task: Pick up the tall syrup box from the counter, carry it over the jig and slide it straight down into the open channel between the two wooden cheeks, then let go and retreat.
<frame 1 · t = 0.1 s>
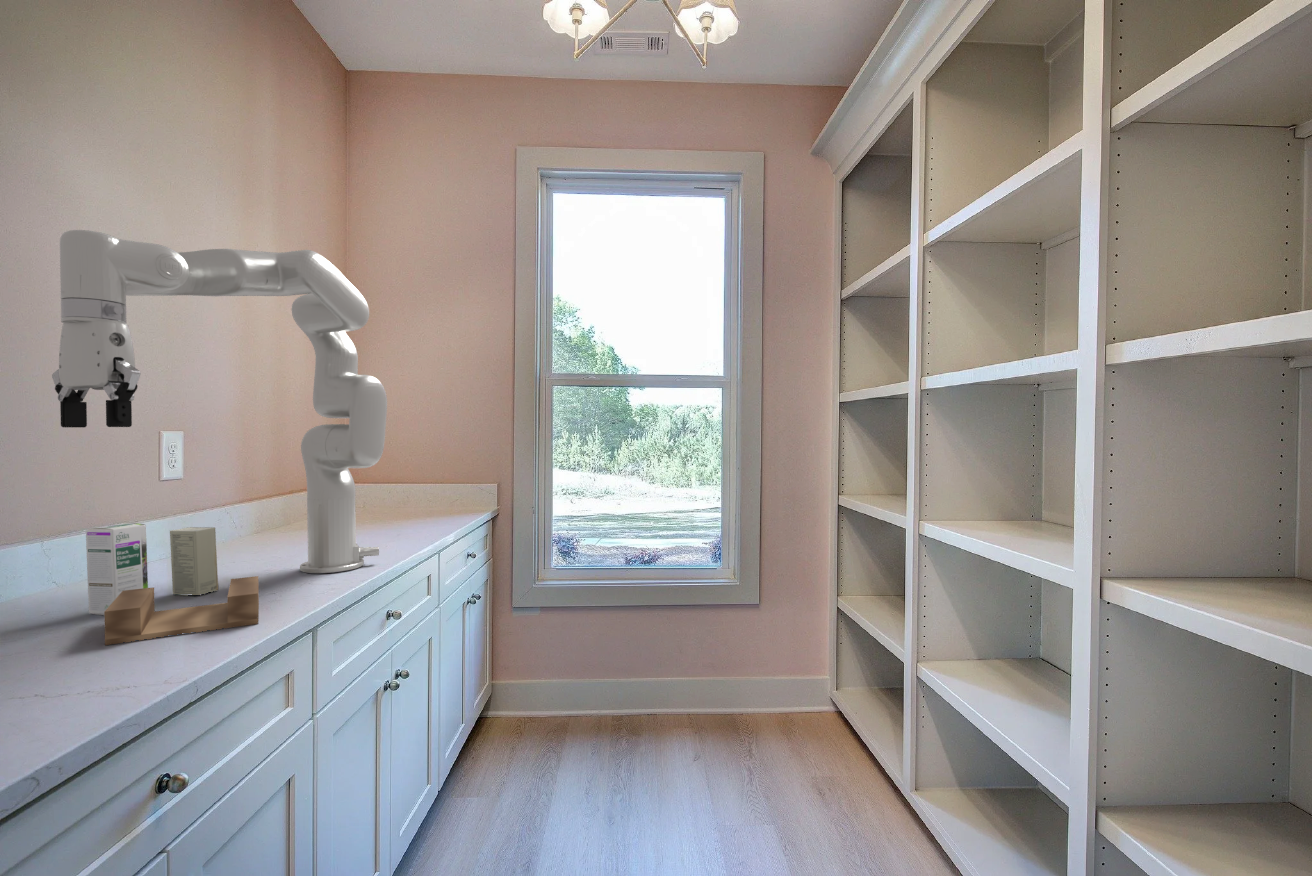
hand: (96, 427, 97), 31 cm above the countertop, tool pointing down, fingers open, 9 cm apart
jig: (190, 622, 101), on the countertop
syrup box: (118, 611, 108), on the countertop
skincare box: (194, 594, 119), on the countertop
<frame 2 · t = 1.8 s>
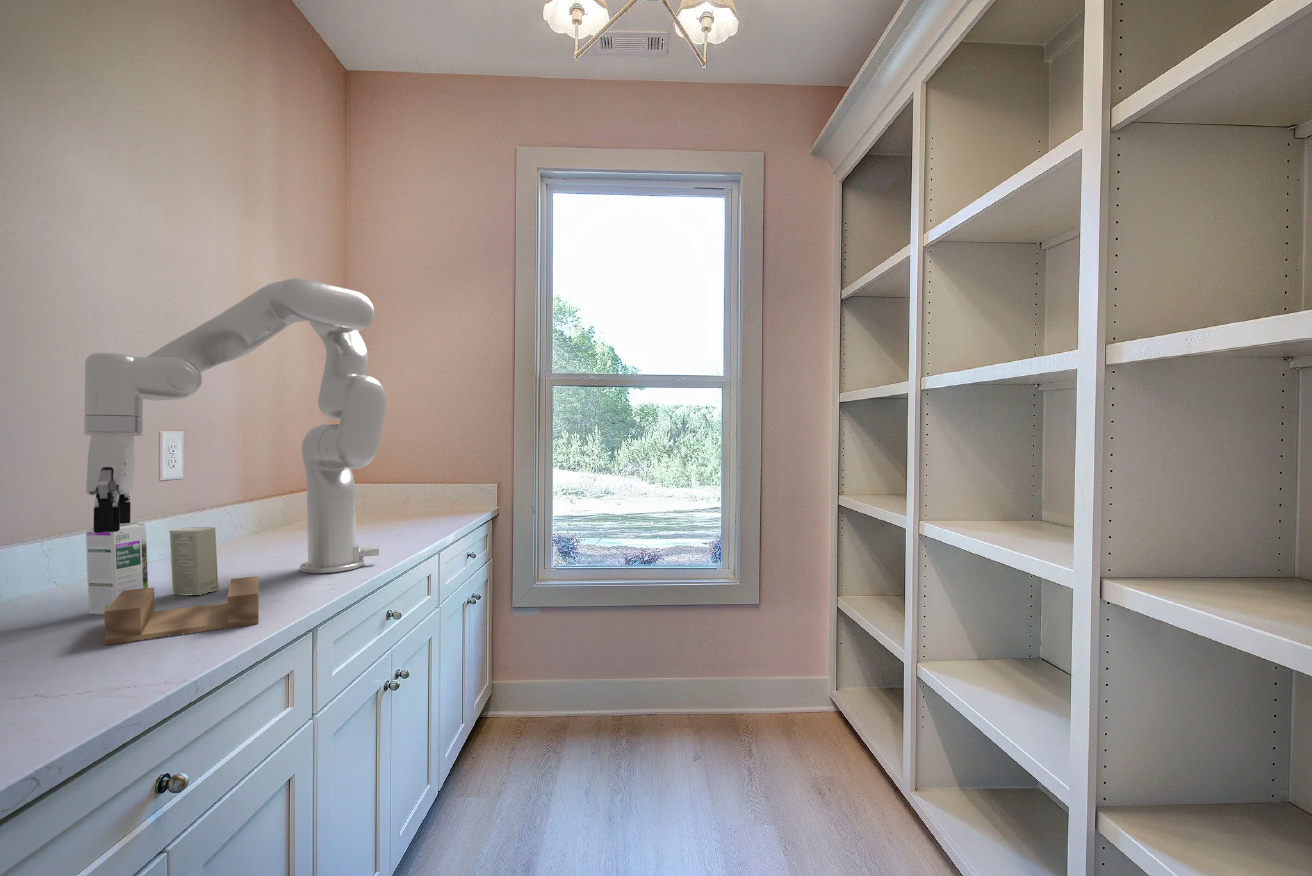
hand: (112, 528, 108), 14 cm above the countertop, tool pointing down, fingers open, 9 cm apart
nothing on the countertop moved.
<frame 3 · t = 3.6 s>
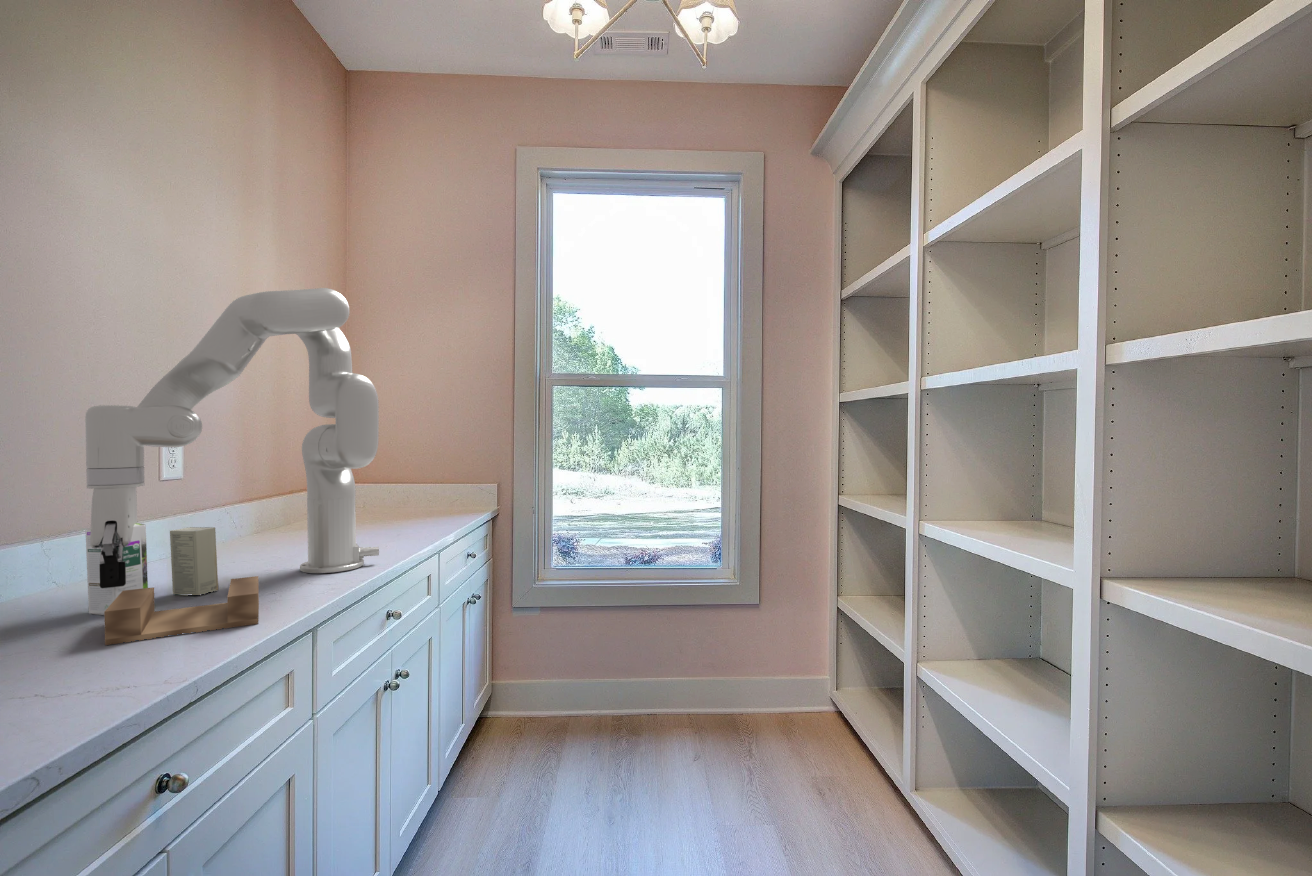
hand: (117, 581, 108), 5 cm above the countertop, tool pointing down, fingers closed on syrup box, 7 cm apart
syrup box: (118, 611, 108), on the countertop, touching gripper
everything else where it was.
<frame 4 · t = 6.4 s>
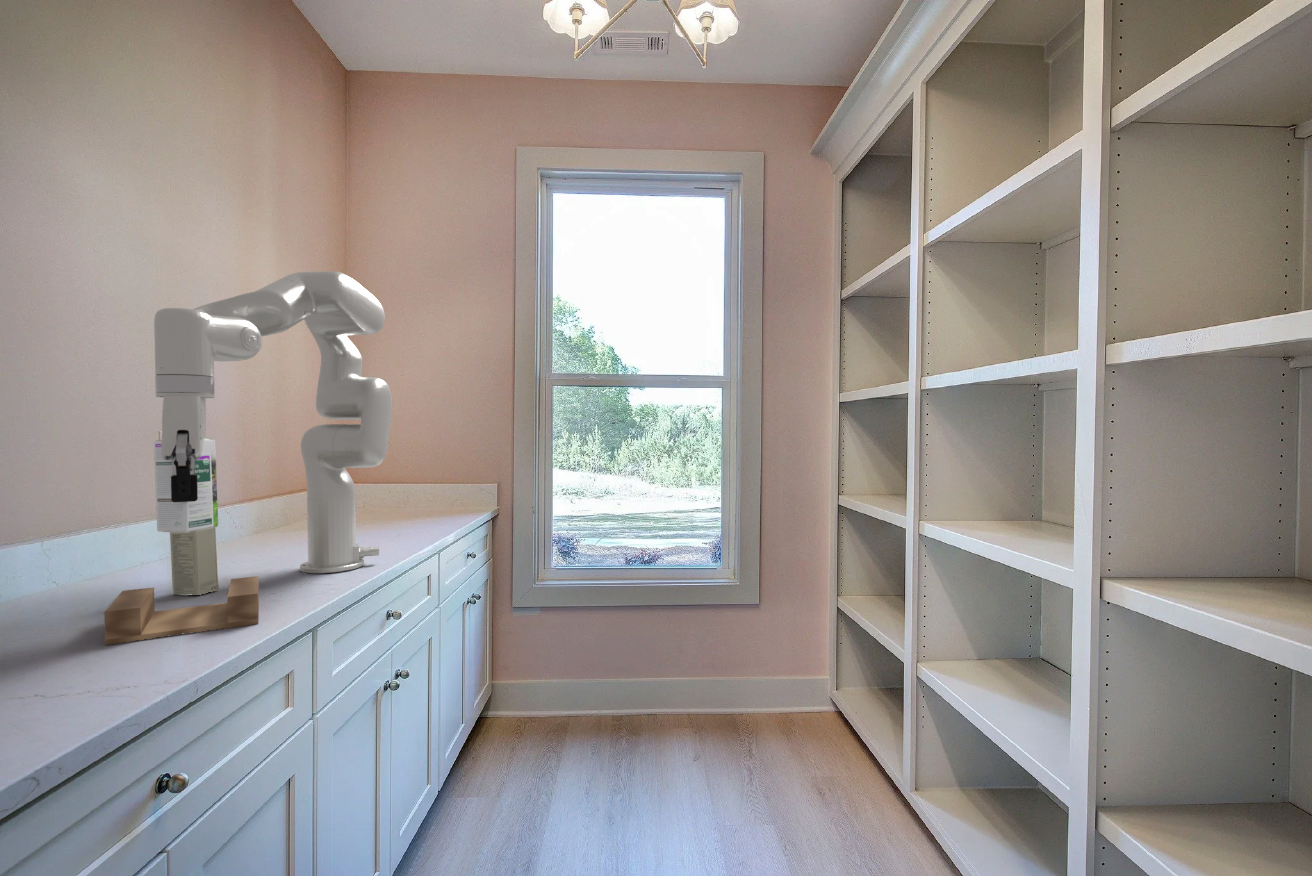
hand: (187, 498, 101), 20 cm above the countertop, tool pointing down, fingers closed on syrup box, 7 cm apart
syrup box: (187, 530, 101), point 15 cm above the countertop, touching gripper
everything else where it was.
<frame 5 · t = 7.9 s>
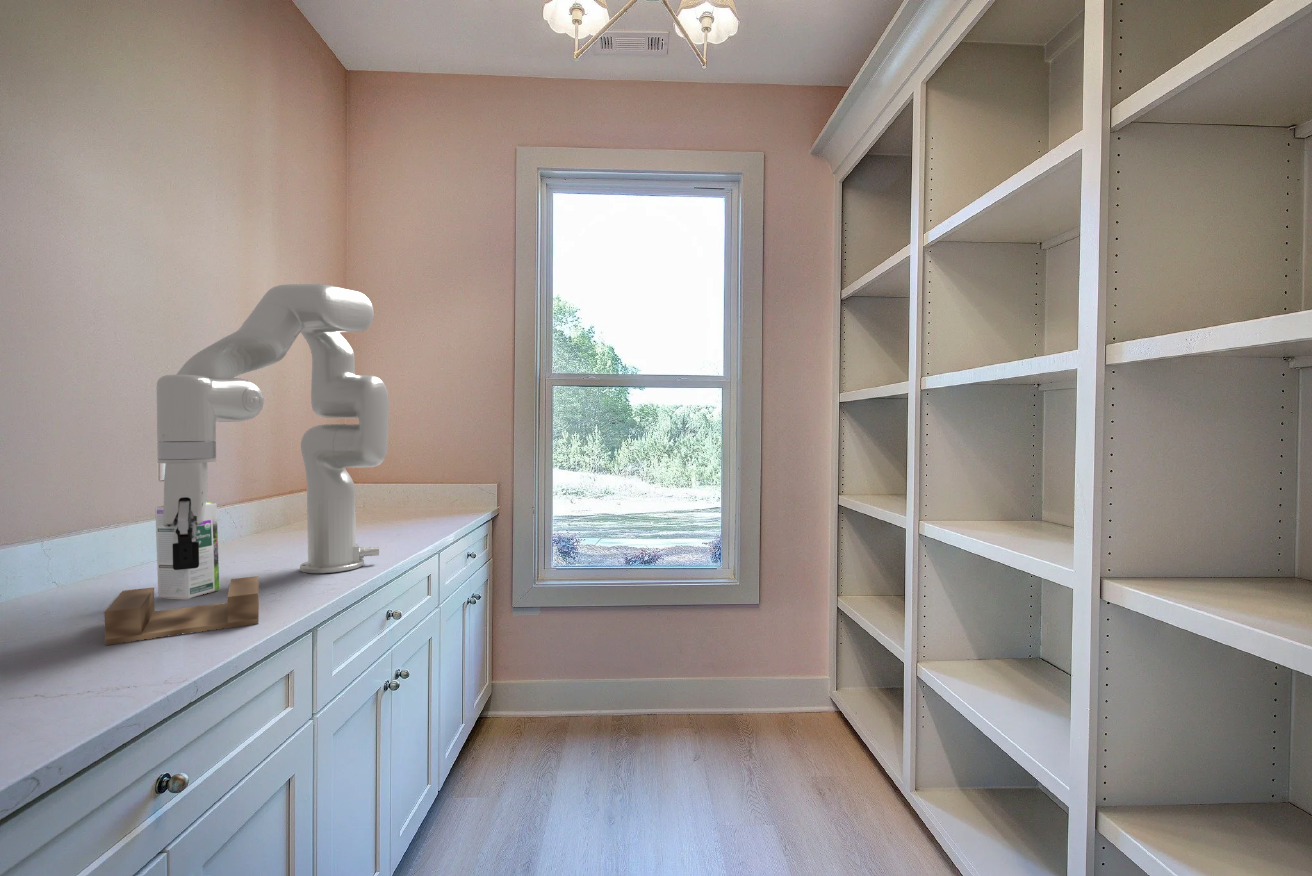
hand: (188, 563, 101), 9 cm above the countertop, tool pointing down, fingers closed on syrup box, 7 cm apart
syrup box: (188, 595, 101), point 4 cm above the countertop, touching gripper
everything else where it was.
when the fingers open (7 cm above the countertop, at t = 9.4 s): syrup box stays where it is, resting on jig.
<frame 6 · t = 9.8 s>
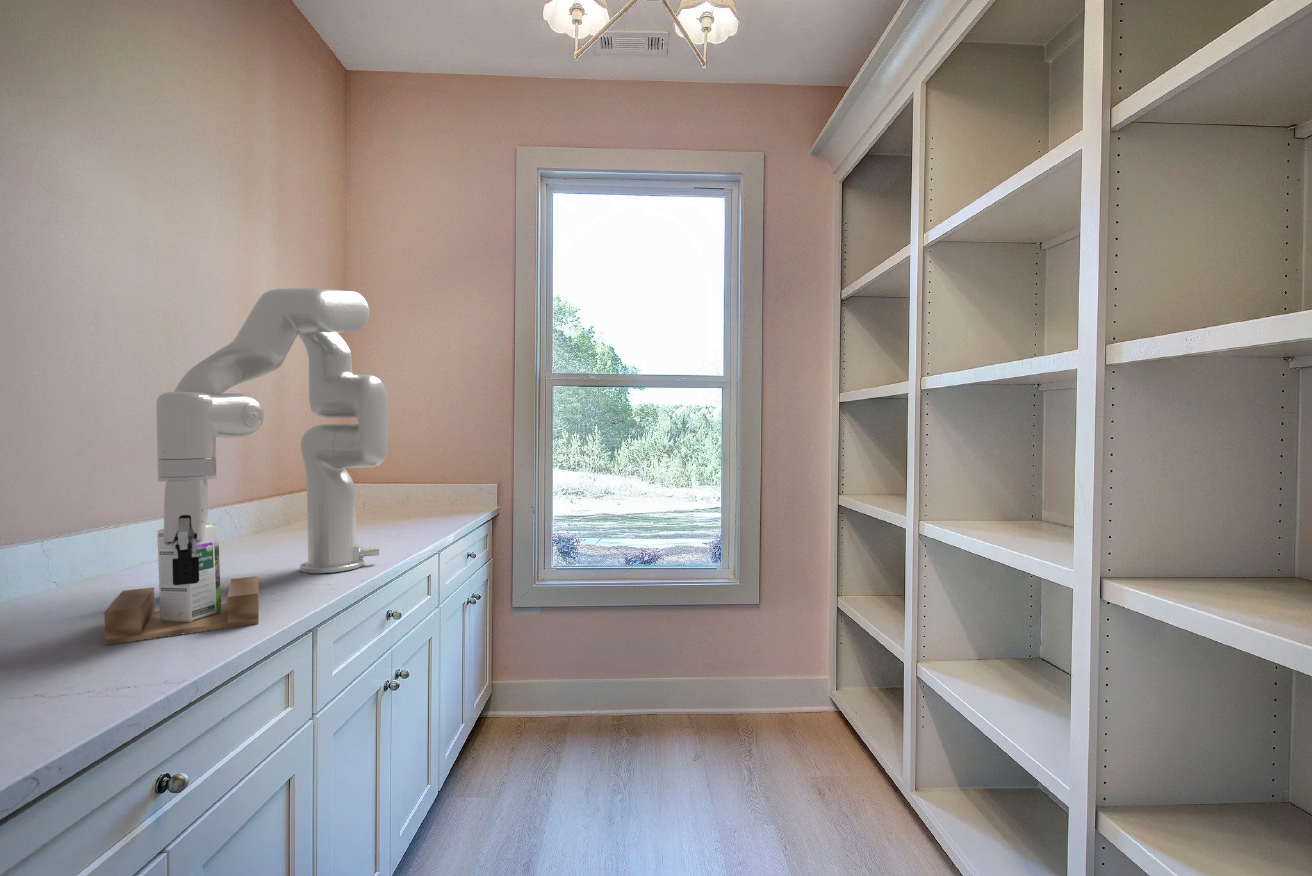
hand: (189, 577, 101), 7 cm above the countertop, tool pointing down, fingers open, 9 cm apart
syrup box: (190, 617, 101), point 1 cm above the countertop, touching jig
everything else where it was.
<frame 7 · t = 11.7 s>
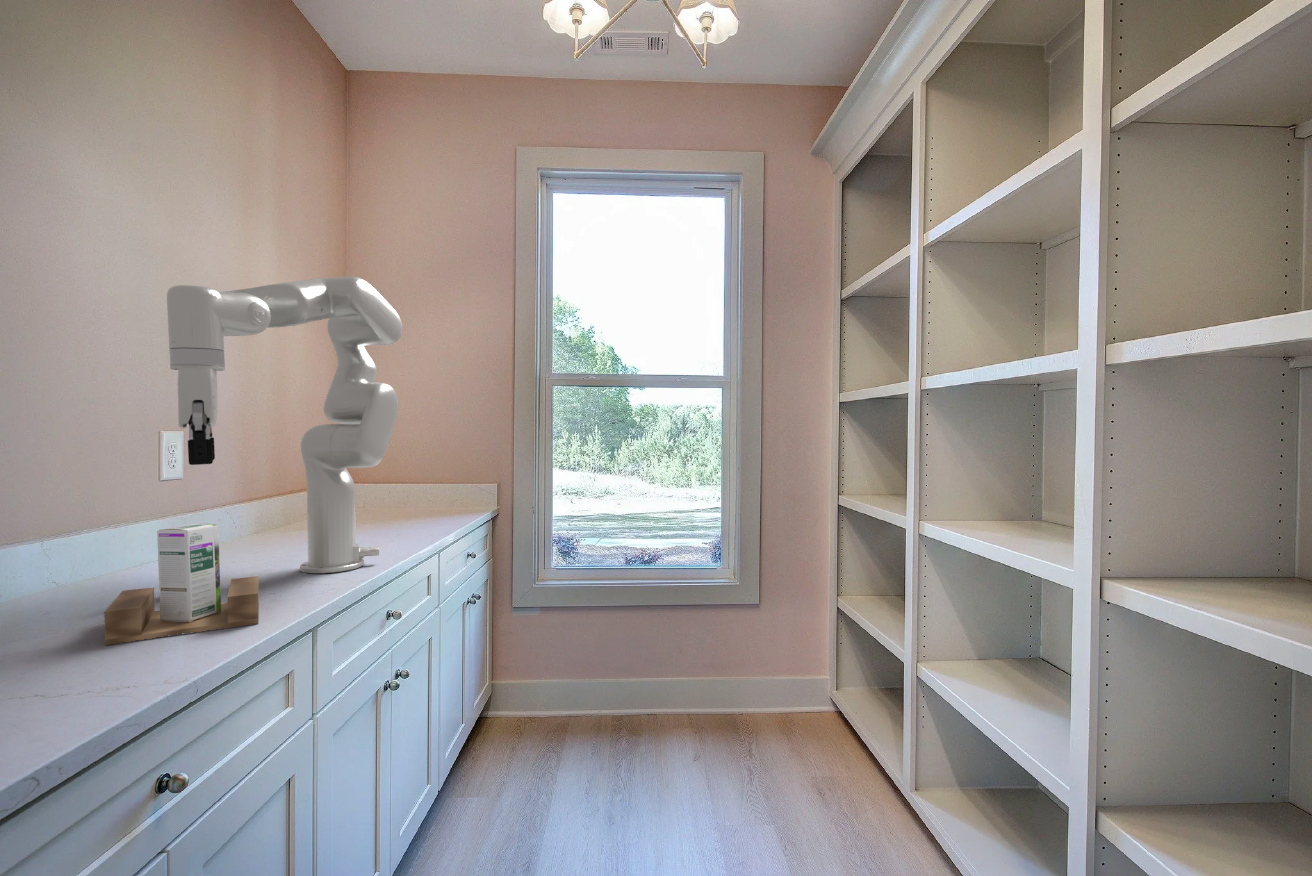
hand: (202, 462, 108), 25 cm above the countertop, tool pointing down, fingers open, 9 cm apart
nothing on the countertop moved.
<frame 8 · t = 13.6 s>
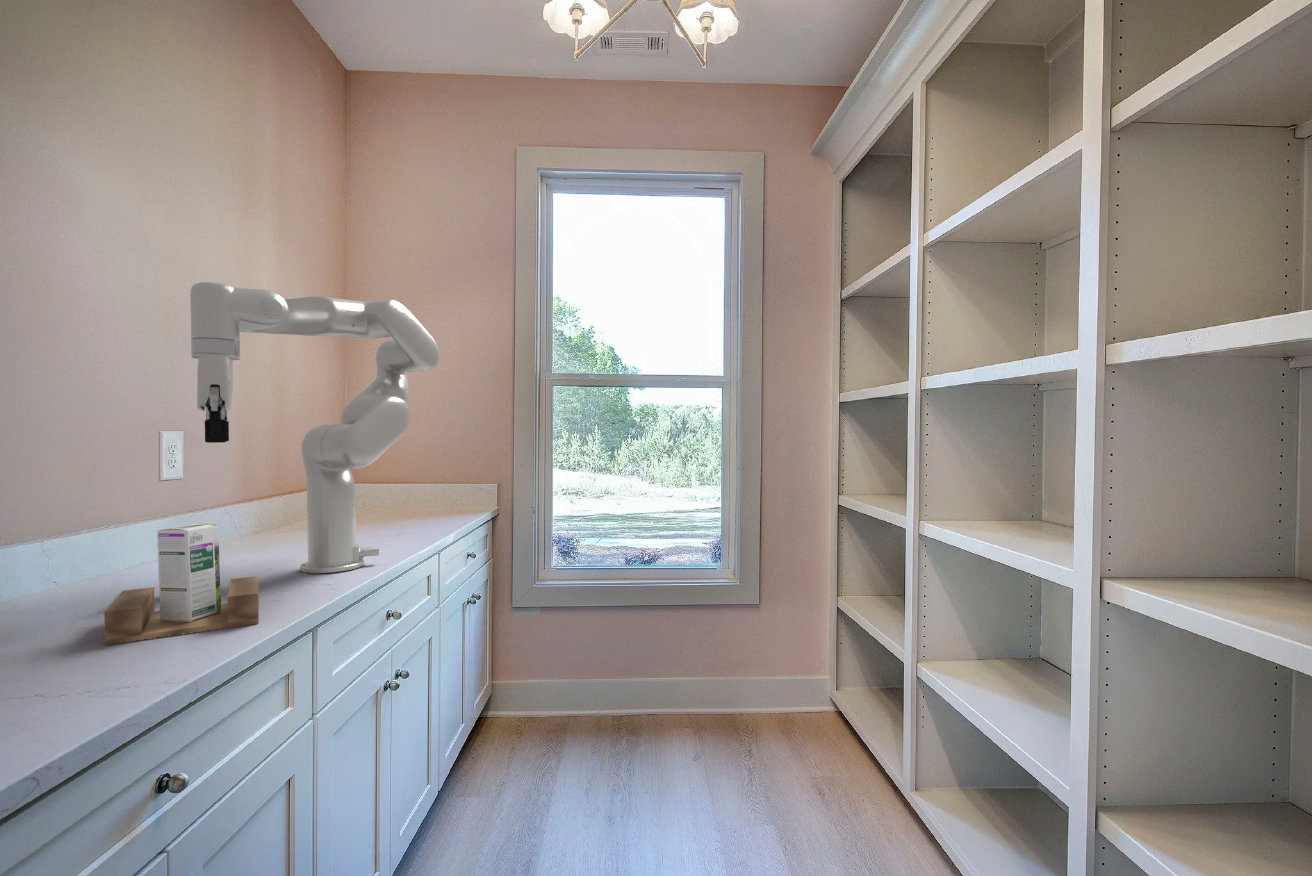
hand: (217, 442, 119), 28 cm above the countertop, tool pointing down, fingers open, 9 cm apart
nothing on the countertop moved.
at the end: syrup box inside the target area on the jig (0.2 cm from its centre), point 0.6 cm above the jig's base; syrup box tilted 0°; the gripper is holding nothing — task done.
